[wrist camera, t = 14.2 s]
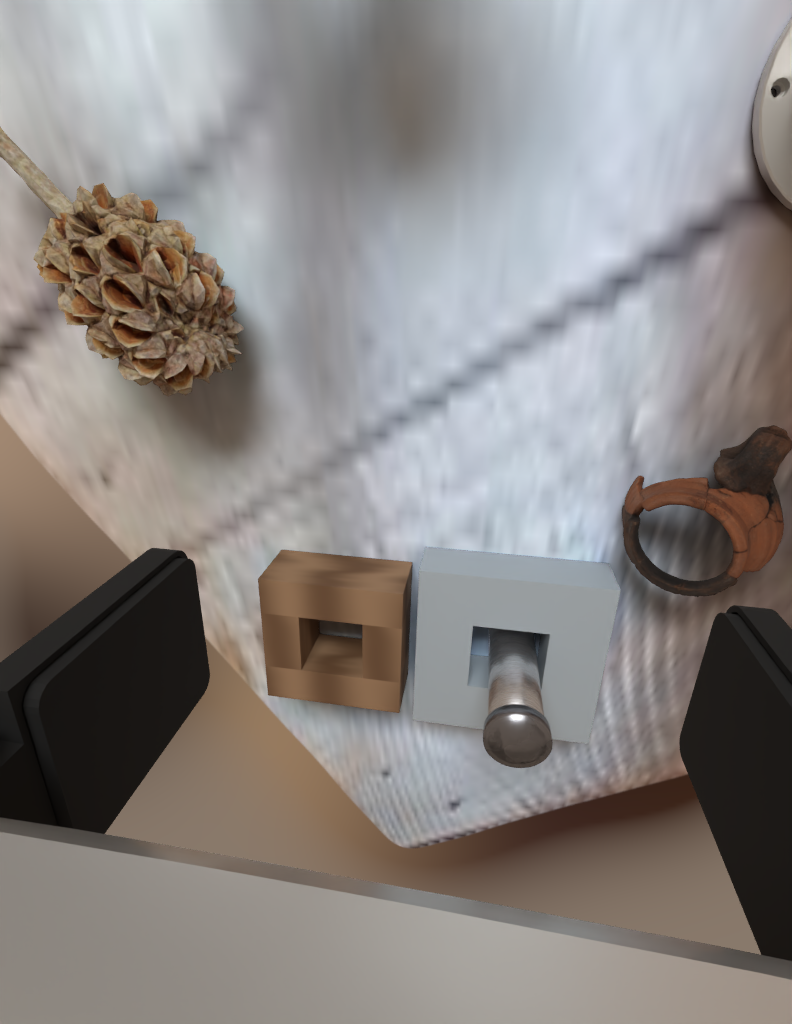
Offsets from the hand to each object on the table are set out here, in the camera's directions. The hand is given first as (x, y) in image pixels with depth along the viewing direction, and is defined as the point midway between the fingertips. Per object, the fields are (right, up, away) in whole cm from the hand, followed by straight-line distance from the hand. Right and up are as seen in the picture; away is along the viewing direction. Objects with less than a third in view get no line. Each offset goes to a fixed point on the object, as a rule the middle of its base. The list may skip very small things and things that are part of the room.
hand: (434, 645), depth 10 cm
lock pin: (+9, -7, +35) cm, 37 cm away
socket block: (+8, -7, +35) cm, 37 cm away
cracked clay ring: (+21, +4, +28) cm, 35 cm away
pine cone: (-19, +21, +28) cm, 40 cm away
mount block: (-5, -6, +37) cm, 38 cm away
